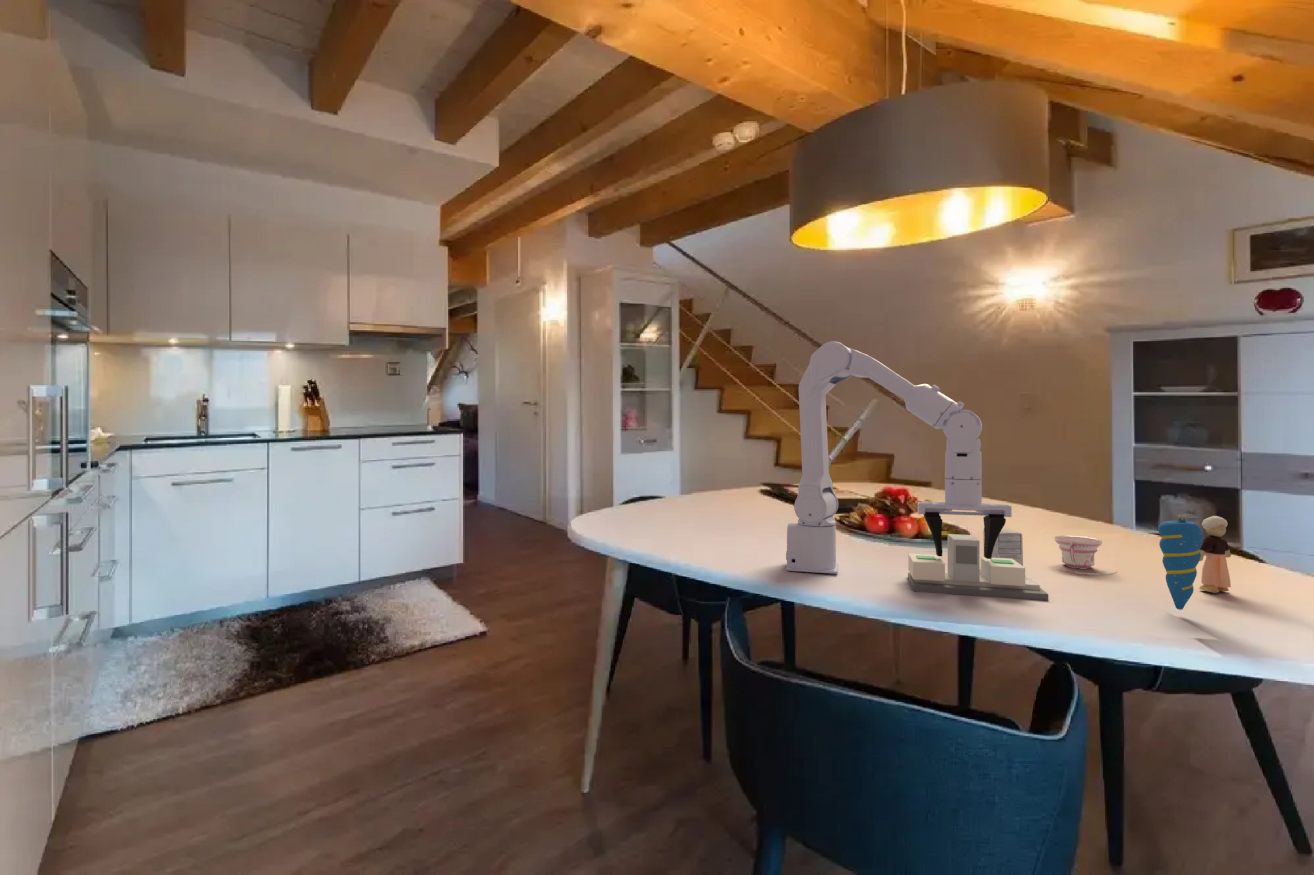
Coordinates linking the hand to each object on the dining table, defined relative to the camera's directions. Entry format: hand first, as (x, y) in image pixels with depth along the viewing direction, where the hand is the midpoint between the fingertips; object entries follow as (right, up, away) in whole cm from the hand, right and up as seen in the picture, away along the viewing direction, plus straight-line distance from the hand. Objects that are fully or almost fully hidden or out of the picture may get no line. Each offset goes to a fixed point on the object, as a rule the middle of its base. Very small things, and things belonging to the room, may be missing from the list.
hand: (963, 556), depth 105 cm
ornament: (+26, -6, -13) cm, 30 cm away
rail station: (+1, -5, 0) cm, 6 cm away
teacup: (+30, -6, +15) cm, 34 cm away
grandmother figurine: (+42, -6, -2) cm, 43 cm away
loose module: (0, -4, 0) cm, 4 cm away
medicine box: (+12, -6, +10) cm, 17 cm away
